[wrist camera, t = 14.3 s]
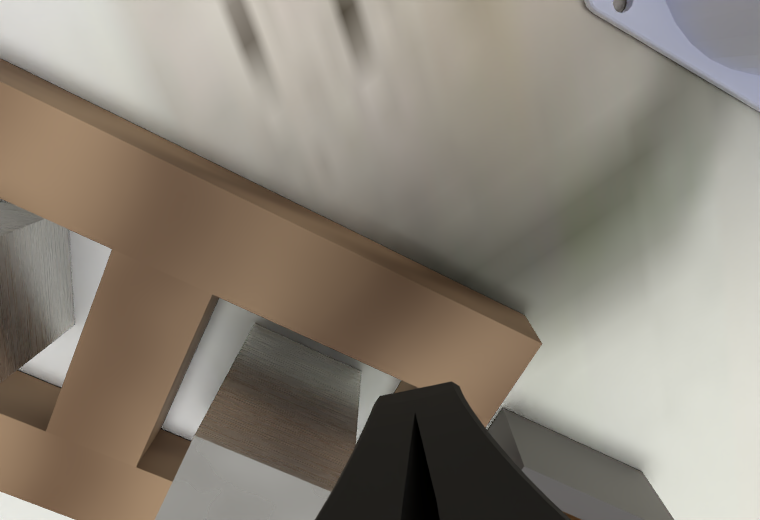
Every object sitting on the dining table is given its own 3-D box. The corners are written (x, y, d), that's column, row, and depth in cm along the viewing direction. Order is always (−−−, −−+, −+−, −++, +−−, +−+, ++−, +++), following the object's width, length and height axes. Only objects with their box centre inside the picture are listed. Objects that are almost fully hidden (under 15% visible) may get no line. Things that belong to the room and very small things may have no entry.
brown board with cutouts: (525, 315, 18) (542, 343, 16) (355, 575, 21) (352, 623, 19) (-144, -13, 15) (-222, -26, 13) (-208, 356, 18) (-276, 387, 16)
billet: (361, 371, 18) (351, 499, 13) (313, 456, 20) (283, 609, 14) (254, 322, 18) (194, 435, 12) (211, 413, 19) (137, 555, 13)
